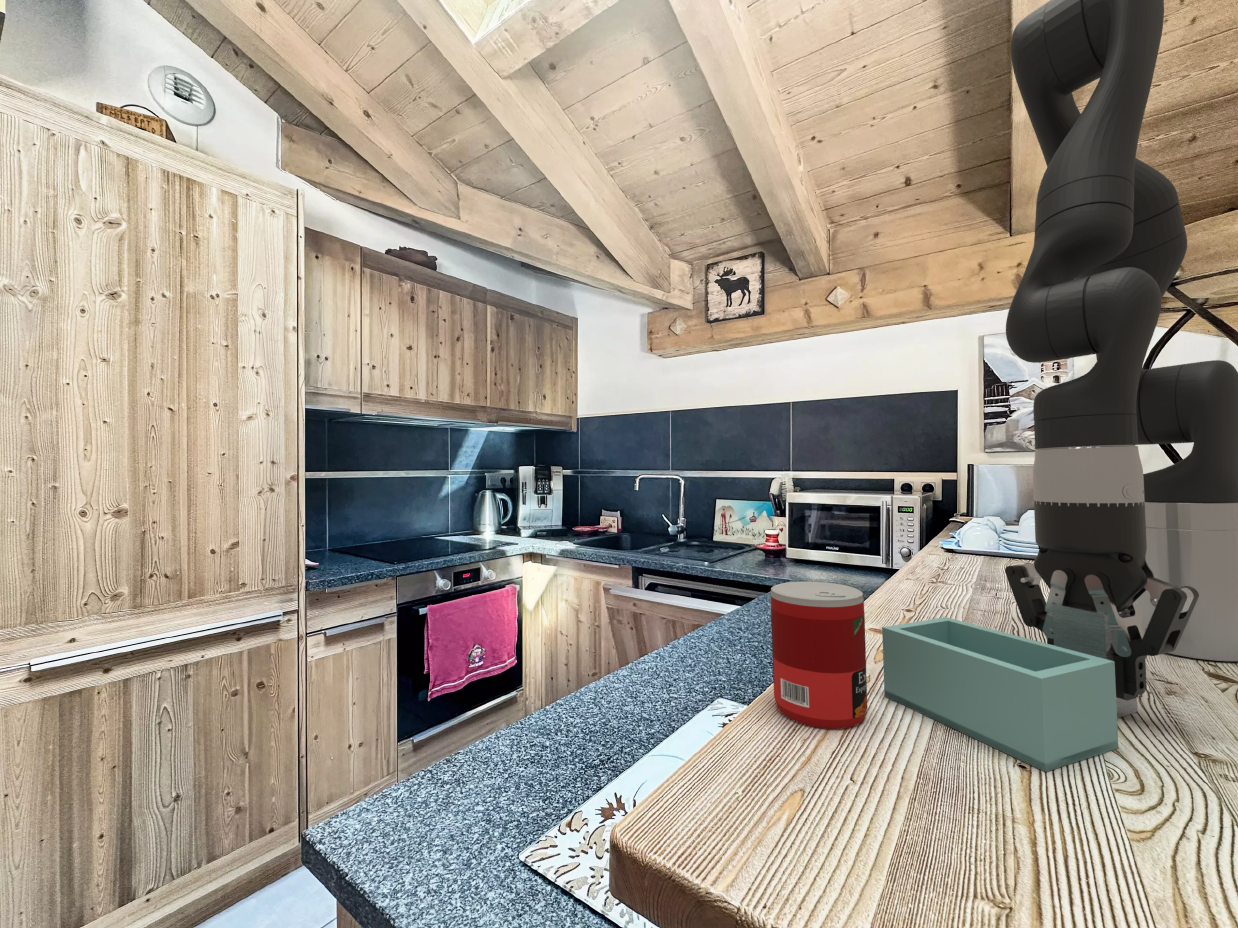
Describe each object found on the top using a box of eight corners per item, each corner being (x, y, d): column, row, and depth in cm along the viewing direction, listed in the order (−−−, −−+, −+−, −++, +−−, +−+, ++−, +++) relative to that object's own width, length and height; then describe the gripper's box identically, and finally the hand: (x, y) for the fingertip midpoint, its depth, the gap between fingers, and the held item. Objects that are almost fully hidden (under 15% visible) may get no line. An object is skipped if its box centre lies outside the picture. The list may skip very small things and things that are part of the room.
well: (948, 682, 53) (945, 616, 53) (1118, 748, 40) (1114, 661, 40) (884, 695, 50) (882, 627, 51) (1045, 771, 37) (1041, 678, 37)
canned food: (878, 734, 43) (873, 600, 43) (778, 727, 45) (774, 598, 45) (856, 695, 51) (852, 581, 51) (770, 690, 52) (767, 580, 53)
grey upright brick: (1084, 694, 50) (1079, 599, 50) (1137, 712, 46) (1132, 609, 46) (1056, 701, 48) (1052, 603, 49) (1109, 720, 45) (1104, 614, 45)
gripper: (1219, 498, 42) (1230, 713, 42) (1029, 494, 56) (1036, 657, 55) (1165, 502, 40) (1176, 731, 39) (979, 496, 53) (986, 667, 53)
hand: (1094, 686), depth 47 cm, fingers closed on grey upright brick, 4 cm apart
